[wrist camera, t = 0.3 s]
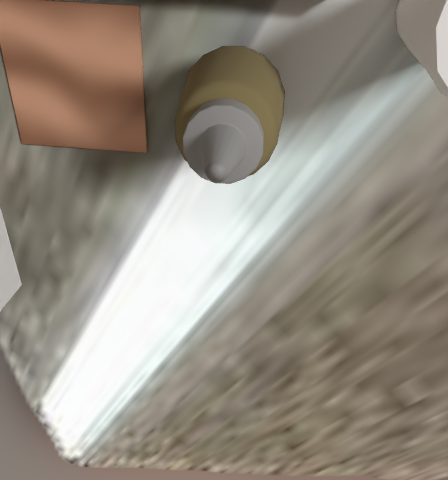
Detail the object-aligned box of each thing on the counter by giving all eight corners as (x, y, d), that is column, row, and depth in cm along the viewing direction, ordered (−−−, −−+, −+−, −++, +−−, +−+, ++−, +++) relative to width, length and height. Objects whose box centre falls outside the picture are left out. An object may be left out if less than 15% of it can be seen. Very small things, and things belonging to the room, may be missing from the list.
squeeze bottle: (269, 145, 37) (276, 255, 22) (183, 127, 37) (129, 224, 22) (294, 51, 33) (323, 106, 18) (196, 29, 33) (142, 66, 18)
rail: (-37, -74, 30) (-64, -80, 28) (342, -54, 29) (349, -58, 27) (13, 141, 39) (-4, 152, 37) (306, 163, 38) (309, 176, 36)
